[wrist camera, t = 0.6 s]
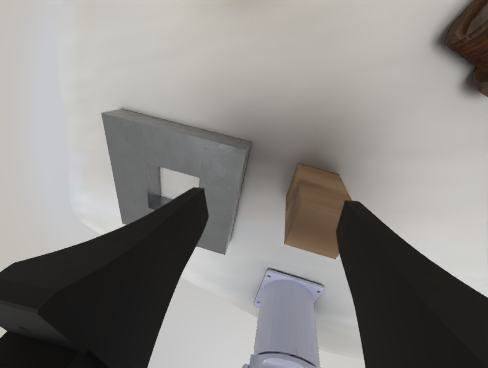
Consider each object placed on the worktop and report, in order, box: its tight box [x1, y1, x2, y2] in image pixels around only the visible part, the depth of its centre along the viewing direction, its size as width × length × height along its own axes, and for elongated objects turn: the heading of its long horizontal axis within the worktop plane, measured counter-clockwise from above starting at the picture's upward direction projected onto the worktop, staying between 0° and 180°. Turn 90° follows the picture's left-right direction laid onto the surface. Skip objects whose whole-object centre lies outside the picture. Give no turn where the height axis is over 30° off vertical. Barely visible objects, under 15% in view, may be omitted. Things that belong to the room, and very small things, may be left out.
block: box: [284, 164, 352, 259], centre depth 17 cm, size 4×4×7 cm
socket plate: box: [101, 109, 251, 255], centre depth 22 cm, size 14×14×2 cm
